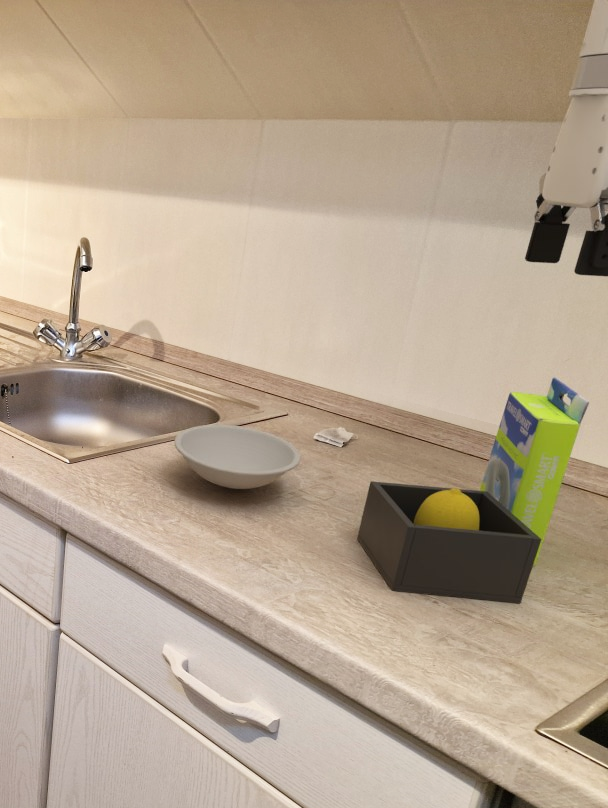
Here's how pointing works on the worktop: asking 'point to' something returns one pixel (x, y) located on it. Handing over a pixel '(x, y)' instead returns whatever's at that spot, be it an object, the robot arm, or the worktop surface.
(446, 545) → the basket
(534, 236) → the robot arm
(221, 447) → the dish
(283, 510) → the worktop surface
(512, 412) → the box
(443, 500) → the lemon
